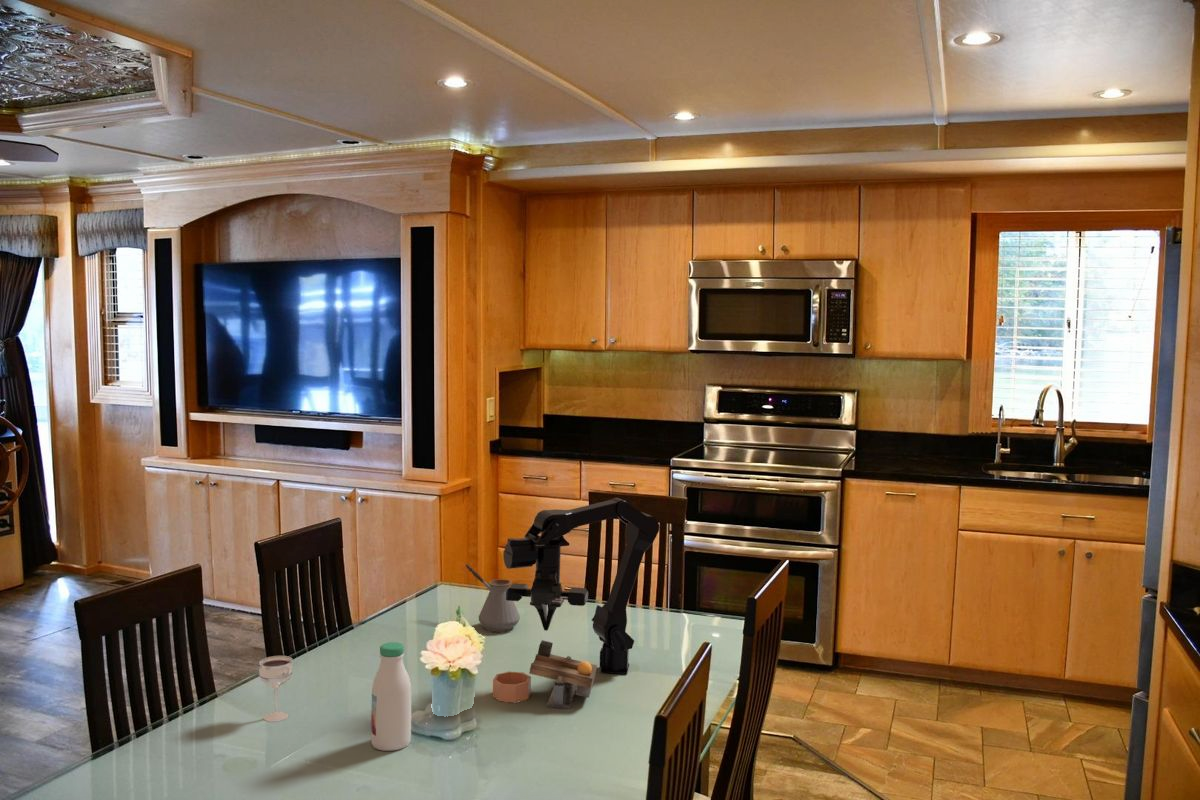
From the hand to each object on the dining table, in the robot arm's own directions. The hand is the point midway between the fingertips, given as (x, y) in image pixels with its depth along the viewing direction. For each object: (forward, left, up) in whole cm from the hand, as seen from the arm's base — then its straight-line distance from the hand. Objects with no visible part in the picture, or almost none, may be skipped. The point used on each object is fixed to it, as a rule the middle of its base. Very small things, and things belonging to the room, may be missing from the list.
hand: (546, 630), depth 216 cm
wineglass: (+52, +30, -12) cm, 62 cm away
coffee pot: (+23, -39, -13) cm, 47 cm away
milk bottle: (+24, +38, -12) cm, 47 cm away
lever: (-5, +8, -9) cm, 13 cm away
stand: (-6, +8, -12) cm, 16 cm away
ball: (-11, +10, -5) cm, 16 cm away
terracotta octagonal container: (+6, +10, -12) cm, 17 cm away
